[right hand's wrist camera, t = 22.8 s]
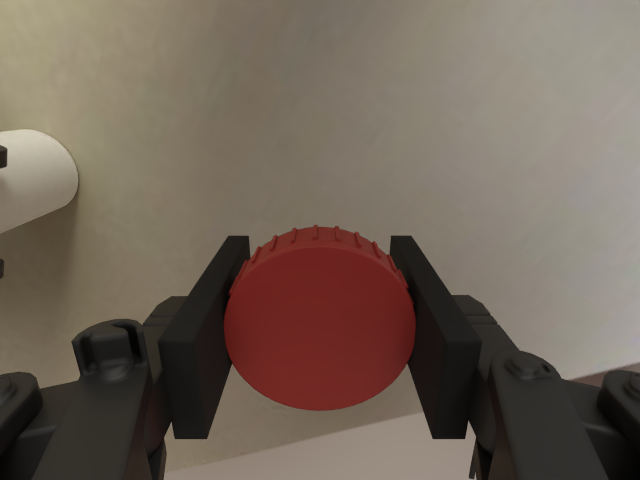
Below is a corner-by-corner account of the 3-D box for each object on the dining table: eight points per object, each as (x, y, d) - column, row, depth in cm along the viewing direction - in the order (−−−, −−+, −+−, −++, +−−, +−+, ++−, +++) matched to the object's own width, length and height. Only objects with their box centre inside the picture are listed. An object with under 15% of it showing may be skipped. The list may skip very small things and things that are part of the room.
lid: (201, 262, 11) (183, 286, 10) (374, 196, 11) (382, 211, 9) (276, 396, 13) (270, 433, 12) (428, 347, 12) (442, 380, 11)
